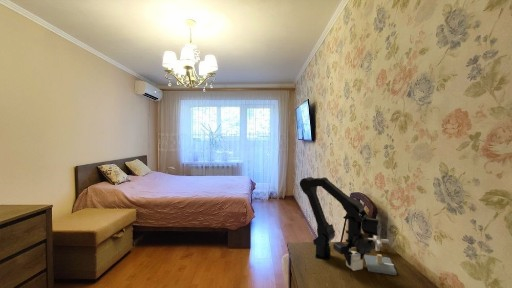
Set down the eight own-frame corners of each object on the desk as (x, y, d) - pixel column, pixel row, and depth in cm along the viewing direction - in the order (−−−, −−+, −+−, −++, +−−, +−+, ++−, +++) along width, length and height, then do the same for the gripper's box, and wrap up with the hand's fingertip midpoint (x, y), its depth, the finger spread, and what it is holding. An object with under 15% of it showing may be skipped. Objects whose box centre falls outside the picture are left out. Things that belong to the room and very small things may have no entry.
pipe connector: (391, 255, 121) (391, 235, 121) (369, 254, 123) (370, 234, 123) (385, 246, 131) (385, 228, 130) (365, 245, 133) (365, 226, 132)
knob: (353, 270, 108) (353, 256, 108) (345, 265, 112) (346, 251, 112) (362, 268, 109) (362, 254, 109) (354, 263, 114) (355, 249, 114)
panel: (368, 271, 107) (368, 260, 107) (364, 257, 120) (364, 247, 120) (397, 275, 104) (397, 264, 104) (390, 260, 117) (390, 250, 116)
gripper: (349, 240, 100) (349, 277, 100) (385, 234, 106) (385, 269, 106) (332, 230, 110) (332, 264, 111) (366, 225, 116) (366, 257, 117)
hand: (354, 264), depth 111 cm, fingers closed on knob, 5 cm apart
